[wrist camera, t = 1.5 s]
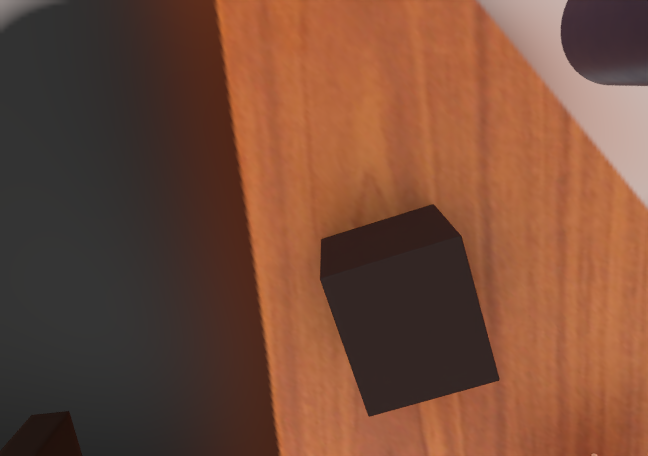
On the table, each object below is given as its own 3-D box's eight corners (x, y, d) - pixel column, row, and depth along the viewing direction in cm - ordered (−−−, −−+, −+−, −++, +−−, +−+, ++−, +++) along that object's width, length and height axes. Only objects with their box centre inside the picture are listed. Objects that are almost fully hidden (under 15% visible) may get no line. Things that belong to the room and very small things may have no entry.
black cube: (433, 203, 26) (461, 235, 21) (466, 323, 28) (500, 380, 22) (320, 239, 26) (319, 278, 21) (360, 354, 28) (368, 417, 23)
